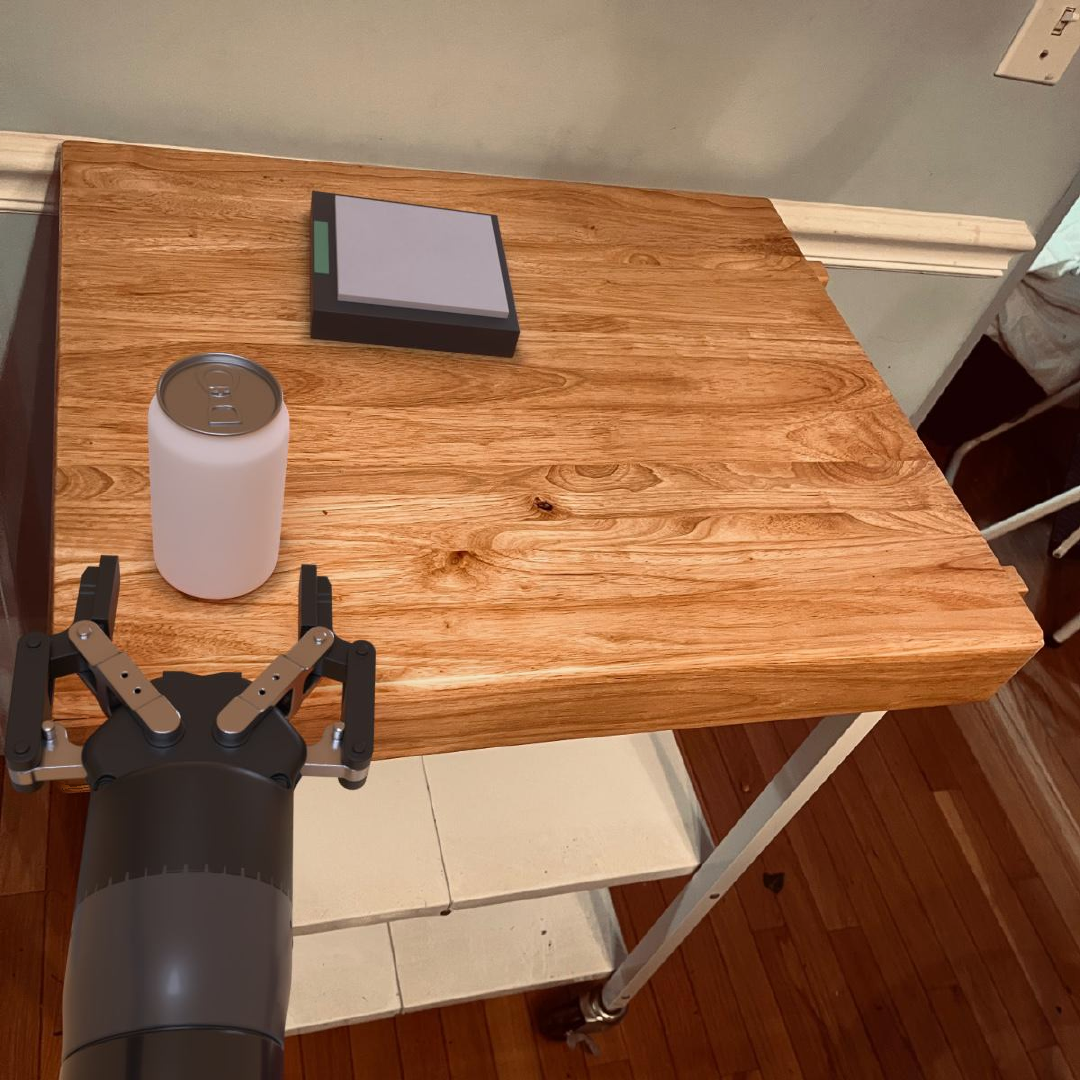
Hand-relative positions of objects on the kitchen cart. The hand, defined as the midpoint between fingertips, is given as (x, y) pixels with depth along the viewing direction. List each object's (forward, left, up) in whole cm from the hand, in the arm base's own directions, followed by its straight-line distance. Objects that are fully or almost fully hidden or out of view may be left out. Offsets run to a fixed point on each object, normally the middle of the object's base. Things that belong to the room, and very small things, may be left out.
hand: (211, 570), depth 49 cm
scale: (-15, +32, -7) cm, 36 cm away
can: (-5, +5, -7) cm, 10 cm away
